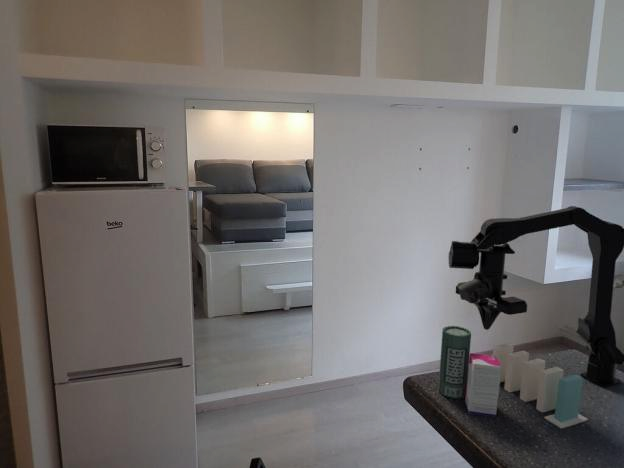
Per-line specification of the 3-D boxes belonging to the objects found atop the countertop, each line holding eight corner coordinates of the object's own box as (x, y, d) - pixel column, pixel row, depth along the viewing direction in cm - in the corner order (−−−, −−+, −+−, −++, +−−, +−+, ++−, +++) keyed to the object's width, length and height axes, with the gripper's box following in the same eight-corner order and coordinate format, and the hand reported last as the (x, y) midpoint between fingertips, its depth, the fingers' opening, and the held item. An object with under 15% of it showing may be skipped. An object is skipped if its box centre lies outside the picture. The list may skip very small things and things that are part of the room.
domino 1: (490, 380, 111) (493, 346, 109) (505, 376, 113) (508, 343, 111) (495, 383, 109) (498, 348, 108) (510, 379, 111) (513, 345, 110)
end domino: (578, 417, 95) (583, 378, 93) (561, 422, 93) (566, 382, 91) (571, 413, 96) (576, 374, 95) (554, 418, 94) (559, 378, 93)
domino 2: (504, 389, 106) (507, 353, 105) (519, 385, 108) (523, 350, 107) (509, 392, 105) (513, 356, 103) (525, 388, 107) (529, 353, 105)
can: (464, 386, 107) (469, 327, 105) (466, 399, 101) (472, 337, 99) (438, 383, 109) (442, 324, 106) (439, 396, 103) (443, 334, 100)
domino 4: (536, 408, 98) (540, 370, 97) (552, 404, 100) (556, 366, 99) (542, 412, 97) (547, 373, 95) (558, 407, 99) (563, 370, 97)
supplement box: (497, 417, 95) (502, 367, 93) (467, 413, 96) (472, 363, 94) (491, 403, 100) (496, 355, 98) (464, 399, 101) (468, 352, 100)
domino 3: (519, 398, 102) (523, 361, 101) (535, 394, 104) (539, 358, 103) (525, 402, 101) (529, 364, 99) (541, 397, 103) (545, 361, 101)
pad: (570, 410, 98) (570, 409, 98) (587, 420, 94) (588, 419, 94) (544, 418, 95) (544, 416, 95) (561, 428, 91) (561, 427, 91)
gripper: (441, 264, 117) (437, 320, 120) (495, 282, 100) (489, 348, 103) (474, 260, 121) (469, 315, 124) (531, 278, 104) (525, 341, 107)
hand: (486, 329), depth 114 cm, fingers closed
